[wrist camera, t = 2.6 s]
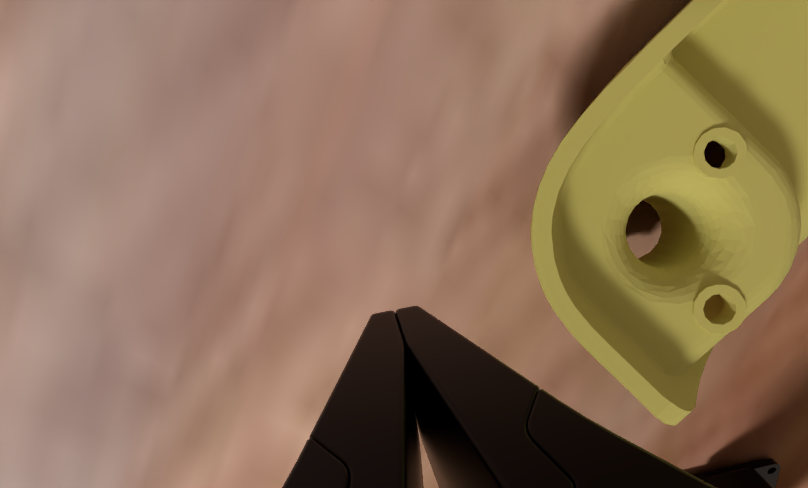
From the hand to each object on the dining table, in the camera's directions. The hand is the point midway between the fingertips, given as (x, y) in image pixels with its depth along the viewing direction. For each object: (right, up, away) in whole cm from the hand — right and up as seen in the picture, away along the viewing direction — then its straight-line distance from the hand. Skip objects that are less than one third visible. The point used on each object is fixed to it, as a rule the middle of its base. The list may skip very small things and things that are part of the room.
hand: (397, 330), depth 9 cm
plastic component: (+12, +7, +10) cm, 18 cm away
